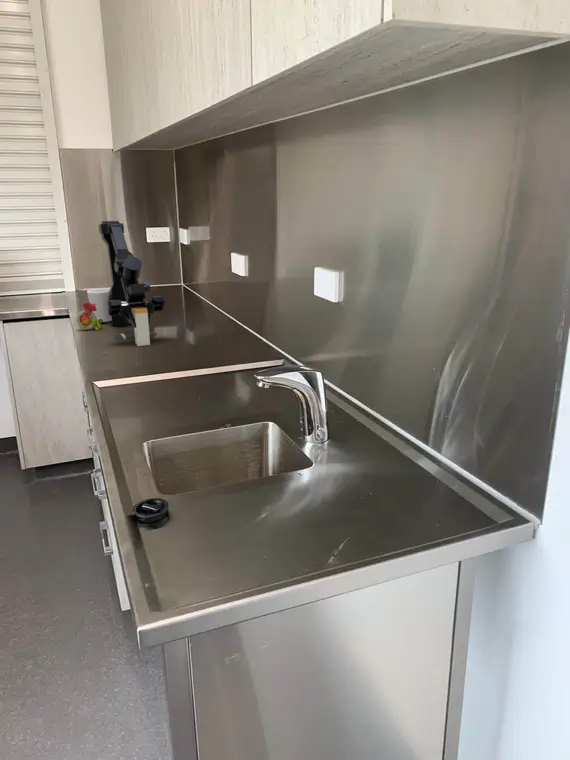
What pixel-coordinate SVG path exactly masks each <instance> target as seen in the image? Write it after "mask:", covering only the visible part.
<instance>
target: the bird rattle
mask: <svg viewBox="0 0 570 760" xmlns="http://www.w3.org/2000/svg"><path fill="white" fill-rule="evenodd" d="M82 306H83V308H84V309H83V310H82V311H79V313H77V316H76V323H77V325H78V326H79V327H80V328H81V330H82V329H83V330H85V331H86V330H91V329H94V328H95V329H94V330H95V331H97V330H98V331H99V329H100V328H101V327H102V324H101V322H103V320H102V319H97V318H96V316H95V314H94V313H93V312H92V311H96V310H97V309H96V304H91V303H90V302H89V301H88V302H82ZM103 323H104V322H103ZM83 330H82V331H83Z"/></svg>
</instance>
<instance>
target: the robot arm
mask: <svg viewBox="0 0 570 760" xmlns="http://www.w3.org/2000/svg"><path fill="white" fill-rule="evenodd" d="M98 232H99V234H100V235H101V240H102V241H103V242H104V243H105V245H106V247H107V254H108V261H109V269H110V276H111V286H110V288H109V289H110V290H109V295H108V303H107V305H108V314H109V315H110V316H111V318H112V322H111V323H109V326H112V325H115V326H114V327H118V326H124V327H126V326H125V325H127V326H130V325H129V324H131V325H132V327H133V328H134V327H135V328H136V322H135V319H134V317H133V308H140V307H145V308H146V309H147V311H148V324H149V325H150V321H151V315H153V314H154V313H156V312H162V311H164V309H165V304H166V299H165V297H164V296H163V295H155V296H154V295H153V296H151V300H145V299H146V293H150V292H151V284H150V282H149V281H144V282H143V283H140V280H139V279H140V277H141V272H142V267H143V263H142V260H140V258H137V257H136V256H135V255H134V254H133V253H132V252H131V251H129V248H128V245H127V241H126V238H125V225H124V223H122V222H120V221H119V220H104V221H103V220H102V221H101V222H100V223H99V224H98Z"/></svg>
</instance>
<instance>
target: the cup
mask: <svg viewBox="0 0 570 760" xmlns="http://www.w3.org/2000/svg"><path fill="white" fill-rule="evenodd" d="M109 290H110V288H106V287H105V288H104V287H103V288H101V287H100V288H93V289H88V290H87V291H86V293H87V294H86V295H87V299H88V302H90V303H91V304H96V309H97V310H96V311H92V312H93V313H94V314H95V316H96V318H97V319H102V320H103V322H101V323H102V324H103V323H105V324H111V323H112V322H111V321H112V318H111V316H110V315H109V314H108V305H107V303H108V295H109Z"/></svg>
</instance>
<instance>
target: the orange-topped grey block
mask: <svg viewBox="0 0 570 760" xmlns="http://www.w3.org/2000/svg"><path fill="white" fill-rule="evenodd" d="M132 314H133V317H134V319H135V322H136V328H135V327H134V326H133V328H134V333H135V338H134V340H135V344H136V346H137V347H141V346H151V341H150V340H151V339H150V337H151V336H149V332H150V324H148V311H147V309H146V308H145V307H140V308H133V309H132Z"/></svg>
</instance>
